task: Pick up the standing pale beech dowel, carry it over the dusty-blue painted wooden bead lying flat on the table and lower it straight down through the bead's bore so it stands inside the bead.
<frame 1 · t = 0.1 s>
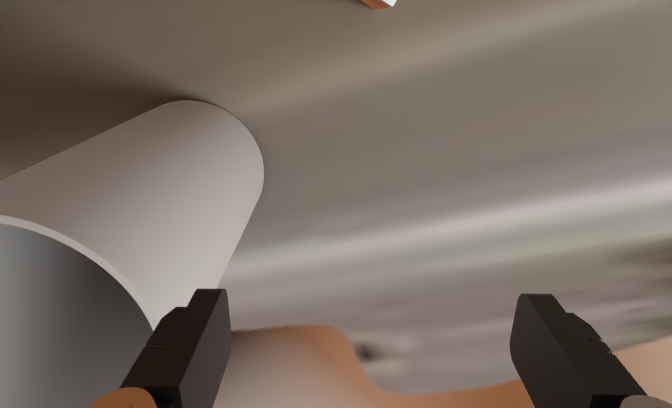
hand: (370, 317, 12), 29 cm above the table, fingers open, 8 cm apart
cylinder vase: (199, 166, 42), on the table
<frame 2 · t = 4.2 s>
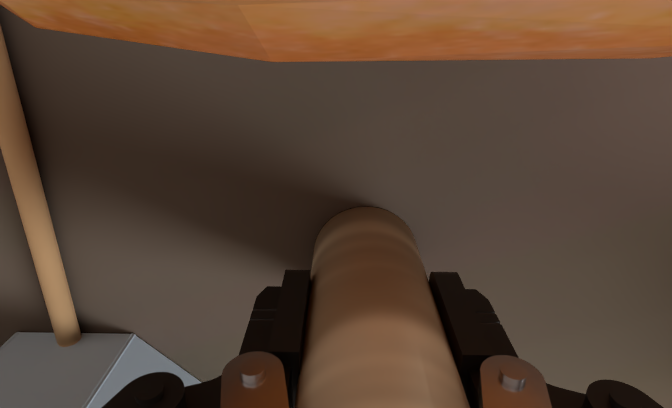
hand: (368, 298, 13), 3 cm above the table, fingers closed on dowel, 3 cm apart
dowel: (365, 253, 16), on the table, touching gripper
wooden stick: (11, 126, 14), on the table
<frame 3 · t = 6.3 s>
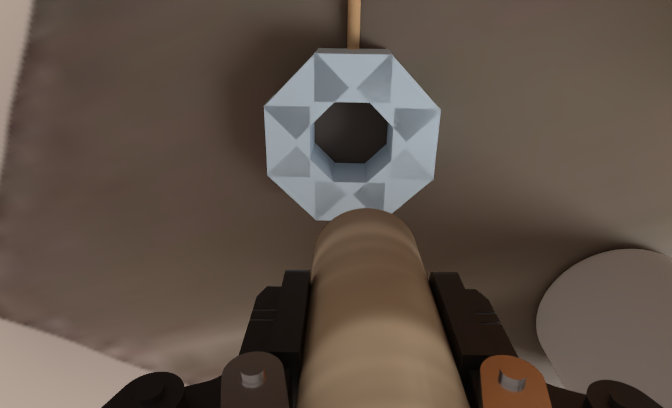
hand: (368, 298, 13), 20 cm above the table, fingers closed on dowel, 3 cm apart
dowel: (365, 255, 16), point 18 cm above the table, touching gripper
bead: (350, 128, 32), on the table
cylinder vase: (607, 308, 38), on the table
when the fingers open (6 cm above the table, at t = 8.7 s): dowel drops 3 cm, resting in bead.
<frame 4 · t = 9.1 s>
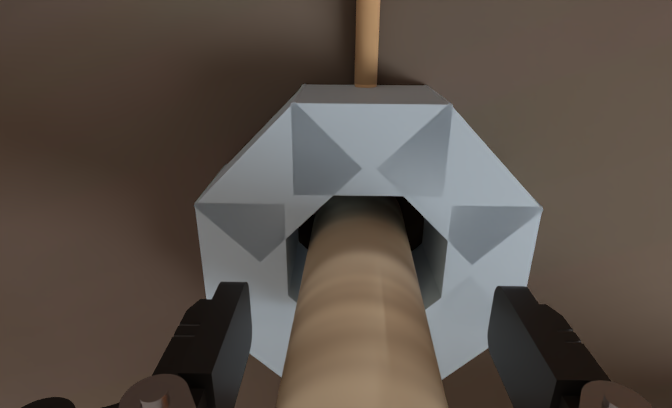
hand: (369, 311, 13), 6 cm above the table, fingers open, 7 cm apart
dowel: (358, 220, 18), resting in bead
bead: (360, 219, 18), on the table
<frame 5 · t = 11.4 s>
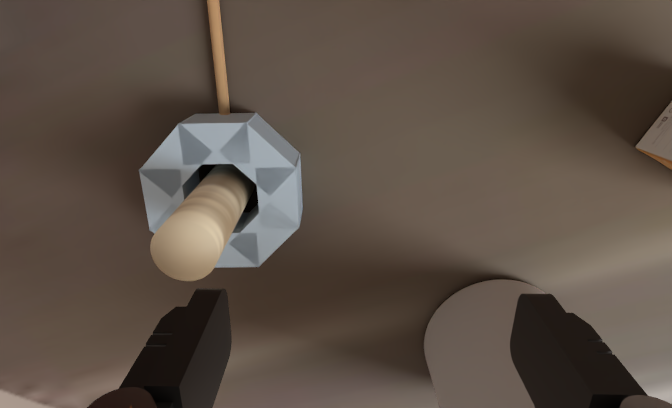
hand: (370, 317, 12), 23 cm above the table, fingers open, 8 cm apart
dowel: (231, 182, 35), resting in bead
bead: (233, 182, 35), on the table
cylinder vase: (490, 334, 41), on the table
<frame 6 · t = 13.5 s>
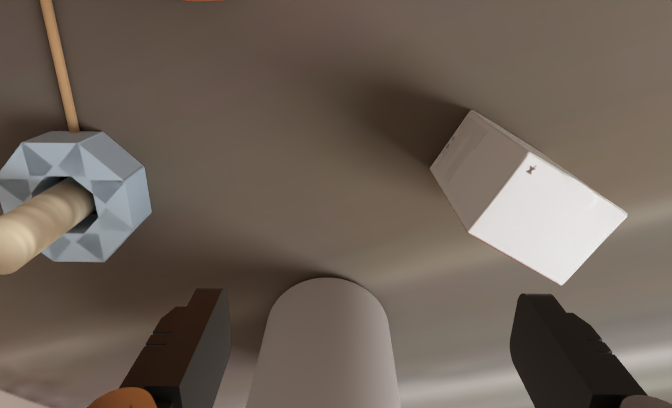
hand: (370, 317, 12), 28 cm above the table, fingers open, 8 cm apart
small box: (484, 161, 40), on the table
dowel: (88, 189, 41), resting in bead
bead: (89, 188, 41), on the table
cylinder vase: (328, 324, 47), on the table
wooden stick: (52, 32, 36), on the table
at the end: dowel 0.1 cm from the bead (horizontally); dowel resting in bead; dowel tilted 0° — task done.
